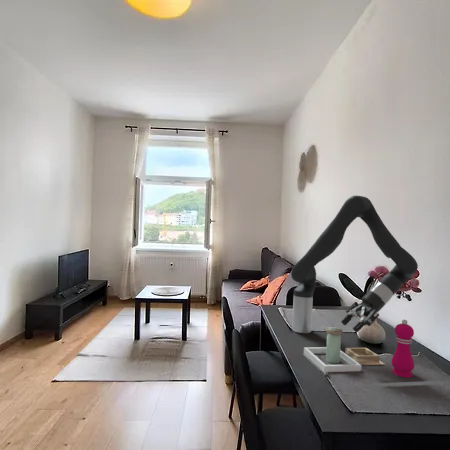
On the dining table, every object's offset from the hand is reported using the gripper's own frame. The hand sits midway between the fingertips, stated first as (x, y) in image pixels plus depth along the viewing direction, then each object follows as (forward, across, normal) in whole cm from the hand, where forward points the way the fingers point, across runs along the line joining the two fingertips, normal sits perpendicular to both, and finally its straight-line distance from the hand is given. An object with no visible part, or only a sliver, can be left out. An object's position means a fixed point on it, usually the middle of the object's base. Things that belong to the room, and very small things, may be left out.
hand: (348, 326), depth 131 cm
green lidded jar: (+13, 0, +5) cm, 14 cm away
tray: (+14, 0, +5) cm, 15 cm away
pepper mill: (0, +12, +20) cm, 23 cm away
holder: (+5, -2, +15) cm, 16 cm away
